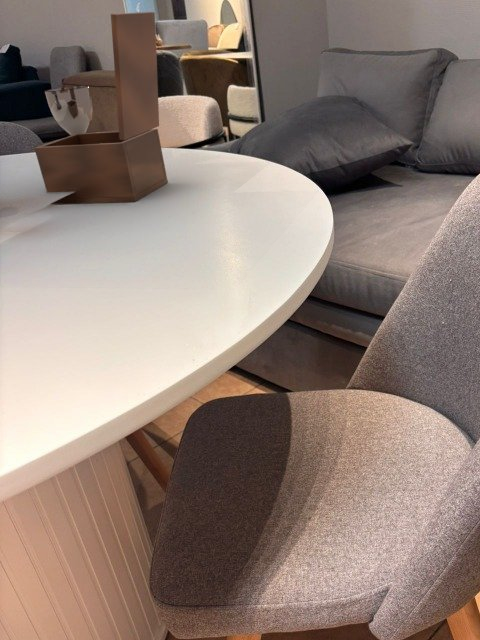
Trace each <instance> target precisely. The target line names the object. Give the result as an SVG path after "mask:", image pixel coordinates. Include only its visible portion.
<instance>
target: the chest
mask: <svg viewBox="0 0 480 640" xmlns="http://www.w3.org/2000/svg"><path fill="white" fill-rule="evenodd" d="M33 149H34V152H35V155H36V160H37V162H38V166H39V169H40V173H41V177H42V180H43V183H44V187H45V190H46V193H47V194H48V193H69V194H67V195H65V196H63V197H61V198H59V199H56V200H54V201H52V202H50V205H66V204H67V205H68V204H69V205H70V204H71V205H73V204H103V203H104V204H105V203H107V204H108V203H111V204H112V203H136V202H138V201H139V200H141V199H143V198H145V197H147V196H148V195H150V194H152V192H155V191H156V190H158V189H160V188H161V187H163V186H164V185H166V184H168V183H169V181H168V176H167V170H166V166H165V160H164V155H163V150H162V145H161V140H160V134H159V129H158V128H153V129H151V130H148V131H146V132H143V133H141V134H138V135H136V136H134V137H131V138H129V139H126V140H120V138H119V130H116V131H115V130H113V131H100V132H99V131H98V132H97V131H96V132H86V133H79V134H74V135H68V136H66V137H62V138H60V139H56V140H53V141H51V142H48V143H45V144H42V145H39V146H36V147H34V148H33Z"/></svg>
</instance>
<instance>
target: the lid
mask: <svg viewBox="0 0 480 640" xmlns="http://www.w3.org/2000/svg"><path fill="white" fill-rule="evenodd" d="M110 23H111V36H112V38H111V39H112V52H113V64H114V65H113V66H114V81H115V94H116V95H115V96H116V109H117V122H118V131H119V138H120V140H126V139H129V138H131V137H134V136H136V135H138V134H141V133H143V132H146V131H148V130H151V129H157V128H158V127H160V115H159V114H160V111H159V109H160V108H159V86H158V83H159V82H158V62H157V61H158V59H157V30H156V12H155V11H142V12H141V11H140V12H122V13H121V12H120V13H110Z"/></svg>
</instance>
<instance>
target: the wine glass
mask: <svg viewBox="0 0 480 640" xmlns="http://www.w3.org/2000/svg"><path fill="white" fill-rule="evenodd" d="M44 94H45V98H46V100H47V101H46V102H47V104H48V107H49V109H50V112H51V115H52V116H53V118H54V121H55V122H56V123H57V125H58V126H59V127H60V128H61V129H62V130H63V131H65V132H66V133H68V135H69V136H71V135H74V134H79V133H87V131H88V129H89V127H90V125H91V123H92V121H93V101H92V96H91V95H92V94H91V91H90V87H89V86H88V85H77V86H66V87H59V88H54V89H48V90H44Z"/></svg>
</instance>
